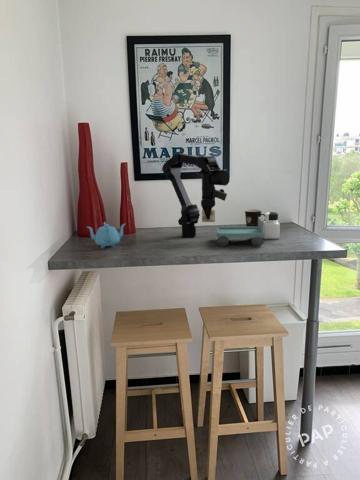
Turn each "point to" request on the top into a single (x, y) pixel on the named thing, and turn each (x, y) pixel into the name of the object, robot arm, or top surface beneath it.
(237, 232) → the teal toy wagon
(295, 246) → the top surface
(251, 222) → the coffee mug
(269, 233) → the medicine bottle
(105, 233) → the teapot
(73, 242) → the top surface
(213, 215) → the block
